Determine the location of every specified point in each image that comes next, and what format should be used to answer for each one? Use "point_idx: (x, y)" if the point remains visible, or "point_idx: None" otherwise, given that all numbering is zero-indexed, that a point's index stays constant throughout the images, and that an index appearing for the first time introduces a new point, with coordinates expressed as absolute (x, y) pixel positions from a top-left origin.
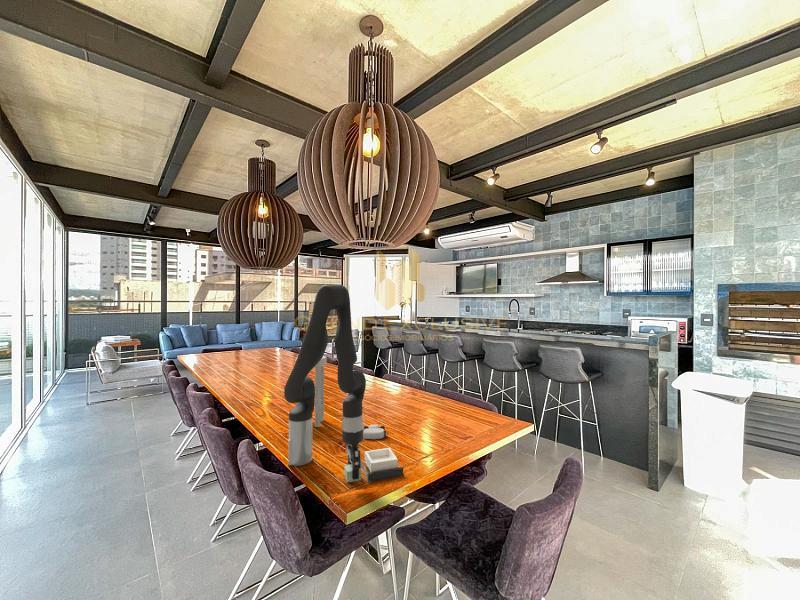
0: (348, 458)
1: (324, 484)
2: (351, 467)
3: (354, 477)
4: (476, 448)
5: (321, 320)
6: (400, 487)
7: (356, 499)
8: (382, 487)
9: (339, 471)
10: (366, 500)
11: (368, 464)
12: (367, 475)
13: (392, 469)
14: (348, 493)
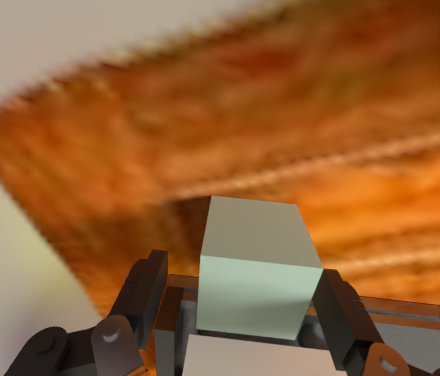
0: (353, 339)
1: (302, 61)
2: (253, 295)
3: (133, 267)
4: None
5: None
6: None
7: (67, 200)
8: None
9: (402, 202)
10: (53, 234)
11: (249, 365)
12: (175, 316)
13: None
14: (131, 181)
